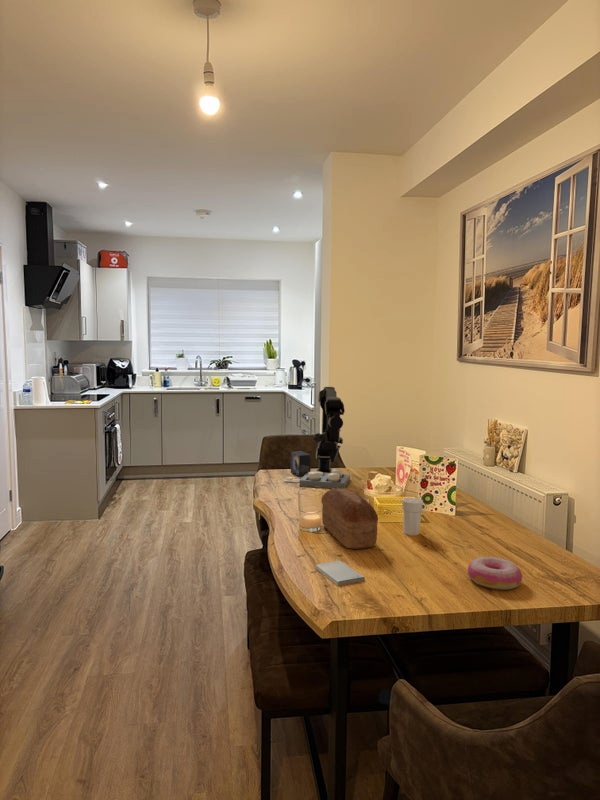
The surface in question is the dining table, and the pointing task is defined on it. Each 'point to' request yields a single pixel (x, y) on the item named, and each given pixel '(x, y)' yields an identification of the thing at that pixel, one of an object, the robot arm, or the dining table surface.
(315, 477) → the button
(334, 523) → the bread
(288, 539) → the dining table surface
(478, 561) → the donut
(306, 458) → the small box
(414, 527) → the cup
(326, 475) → the board
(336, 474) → the button
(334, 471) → the button
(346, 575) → the hard drive
